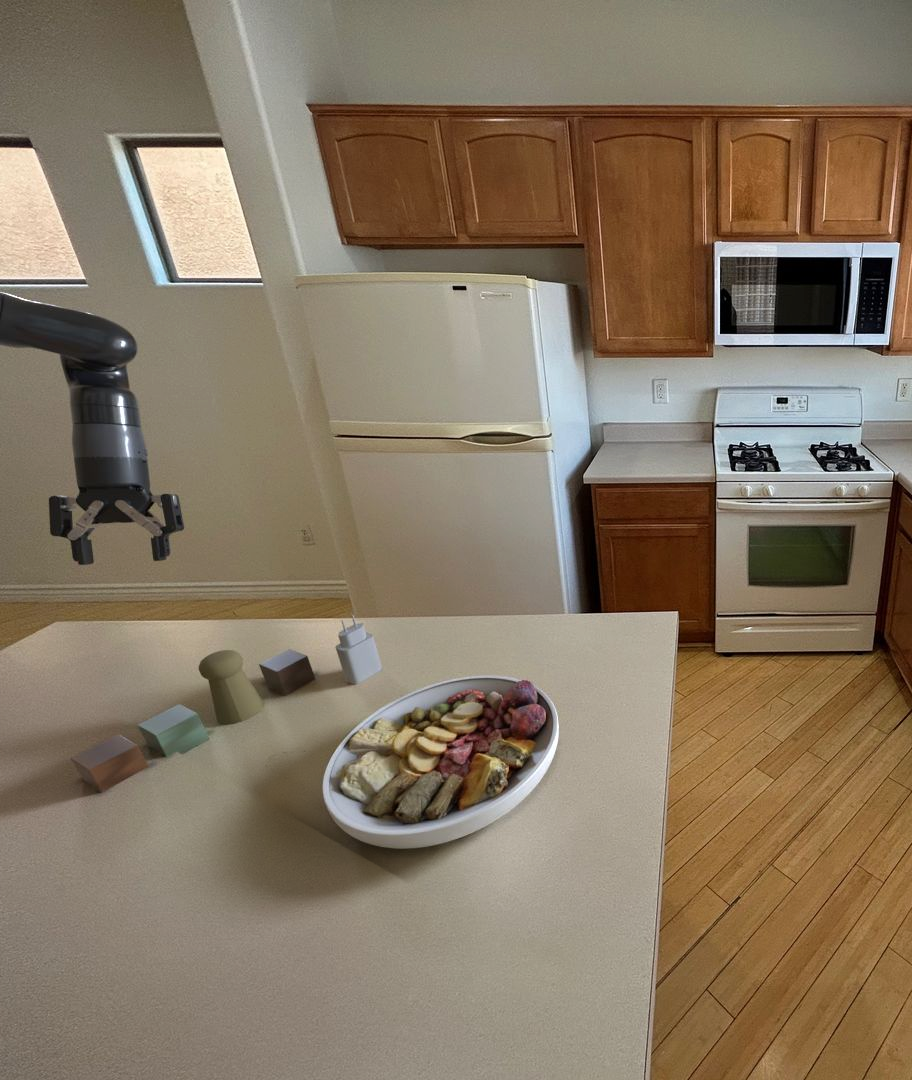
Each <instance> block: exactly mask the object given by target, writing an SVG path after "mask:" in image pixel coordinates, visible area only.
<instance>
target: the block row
mask: <svg viewBox="0 0 912 1080" xmlns="http://www.w3.org/2000/svg"><path fill="white" fill-rule="evenodd" d="M258 666H259V669H260V671H261V674H262V676H263V679H264V682H265V684H266V687H267V689H270V690H272V691H273V692H276V693H279V694H281V695H283V696H288V695H290V694H291V693H294V692H295V691H297V690H299V689H300V688H302V687H304V686H305V685H308V684H309V683H311V682H313V681H314V680H316V677H315V674H314V671H313V667H312V665H311V662H310V660H309V656H308V655H306V654H304V653H302V652H299V651H296V650H293V649H291V648H289V649H287V650H285V651H283V652H281V653H279V654H277V655H274V656H273V657H271V658H269V659H266V660H265V661H262V662H261V663H259V664H258ZM137 727H138V729H139V732H140V733H141V736H142V737H143V739H144V741H145V742H146V745H147V747H149V748H151V749H152V750H154V751H156V752H157V753H159V754H161V755H163V756H164V757H169V756H171V755H172V754H174V753H178V754H180V755H184V754H186V753H187V752H189V751H191V750H192V749H194V748H196V747H198V746H199V745H202V744H203V743H205V742H206V741H208V740H210V737H209V734H208V733H207V730H206V727H204V725H203V722H202V720H201V718H200V716H199V713H198V712H195V711H194V710H191V709H189V708H187V707H185V706H184V705H181V704H180V703H178V704H176V705H175V706H172V707H171V708H168V709H166V710H165V711H163V712H160V713H158V714H156V715H154V716H153V717H150V718H148V719H147V720H144V721H143V722H140V723H138V724H137ZM70 760H71V762H72V764H73V766H74V767H75V769H76V771H77V772H78V774H79V775H80V777H81V779H82V780H83V781H84V782H85V783H86V784H88V785H89V786H90V787H92V788H94V789H96V790H97V791H99V792H100V793H104V792H106V791H108V790H109V789H111V788H113V787H115V786H116V785H119V784H120V783H122V782H125V781H126V780H127V779H130V778H131V777H133V776H135V775H136V774H138V773H140V772H142V771H143V770H145V769H147V768H149V767H150V766H149V764H148V761H146V759H145V757H144V755H143V753H142V751H141V748H139V745H138V744H136V743H135V742H133V741H132V740H129V739H128V738H126V737H125V736H122V735H121V734H117V735H114V736H113V737H110V738H109V739H107V740H104V741H103V742H101V743H98V744H97V745H95V746H92V747H91V748H88V749H86V750H84V751H83V752H80V753H78V754H76V755H74V756H73V757H70Z"/></svg>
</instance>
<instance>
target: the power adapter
mask: <svg viewBox="0 0 912 1080" xmlns="http://www.w3.org/2000/svg"><path fill="white" fill-rule="evenodd" d="M351 618H352V622H353V624H352V625H350V626H348V627H346V624H345V621H344V620H343V619H341V625H342V628H343V629H342V630H340V631H339V632H338V635H337V636H338V641H339V642H340V643H338V644H337V645H335V647H334V648H335V651H336V654H337V656H338V660H339V663H340V666H341V669H342V672H343V676H344V679H345V682H347V683H348V684H351V685H359V684H361V683H362V682H364V681H366V680H368V679H369V678H371V677H372V676H374V675H376V674H377V673H379V672H380V671H382V670H383V667H382V666H383V665H382V662H381V660H380V656H379V653H378V649H377V648H378V647H377V644H376V642H375V638H374V634H371V633H369V632H366V629H365V625H364V623H363V622H360V623H357V621H356V619H355V615H354V614H351Z"/></svg>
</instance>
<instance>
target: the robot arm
mask: <svg viewBox="0 0 912 1080" xmlns="http://www.w3.org/2000/svg"><path fill="white" fill-rule="evenodd" d="M0 346H3V347H7V348H14V349H36V350H41V351H44V352H48V353H54V354H58V355H59V359H60V364H61V368H62V371H63V375H64V379H65V381H66V384H67V387H68V391H69V409H70V416H71V424H72V427H71V429H72V432H71V446H72V447H71V448H72V454H73V463H74V471H75V478H76V479H75V480H76V485H77V488H78V495H77V496H74V497H73V496H68V495H51V496H49V498H48V511H49V515H48V516H49V533H50V535H51V536H53V537H58V538H64V539H67V540H68V541H69V542H70V548H71V554H72V555H71V557H72V560H73V561H74V562H77V564H78V566H87V565H93V564H94V563H95V558H94V552H93V551H94V550H93V543H92V539H89V538H90V537H91V536H92V534H94V532H95V531H96V530H97V529H98V528H101V526H102V525H103V524H104V525H105V524H118V523H121V524H128V523H136V524H137V525H139V526H140V527H142V528H144V529H145V530H146V531H147V532H149V533H150V535H152V536H153V537H150V545H151V554H152V560H153V561H154V562H162V561H166V560H167V557H170V555H171V546H170V536H171V535H172V534H175V533H178V532H182V531H184V530H185V523H184V518H183V513H182V507H181V502H180V497H179V495H178V494H177V493H162V494H156V495H154V494H153V493H152V492H151V480H150V472H149V471H150V470H149V462H148V461H149V460H148V455H149V454H148V450H147V444H146V440H145V437H144V436H145V435H144V433H143V430H142V421H141V413H140V407H139V401H138V399H137V396H136V394H135V393H134V392H133V391H131V388H130V379H129V373H128V365H129V364H130V363H131V362H132V361H134V359H135V358H136V357H137V354H138V350H139V348H138V347H139V346H138V343H137V340H136V338H135V337H134V335H133V334H132V333H131V332H130V331H129V330H128V329H127V328H125V327H124V326H123V325H121V324H119V323H117V322H115V321H113V320H110V319H108V318H105V317H103V316H99V315H96V314H92V313H90V312H85V311H81V310H78V309H73V308H68V307H63V306H59V305H54V304H49V303H44V302H43V303H42V302H37V301H32V300H28V299H24V298H21V297H17V296H15V295H12V294H9V293H6V292H2V291H0ZM154 504H157V506H158V507H159V508H160V509H162V513H163V518H164V523H165V524H164V523H162V522H161V520H160V519H159V518H158V517H157V516H156V515H155V514H154V513H153V512H151V510H150V509H151V508H152V507H153V506H154ZM77 505H78V507H79V508H81V510H83V511H84V513H83V514H82V515H81V516H80V517H79V518H78V520H76V522H75V525H74V524H73V511H75V510H76V508H77Z"/></svg>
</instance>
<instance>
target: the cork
mask: <svg viewBox="0 0 912 1080" xmlns="http://www.w3.org/2000/svg"><path fill="white" fill-rule="evenodd" d="M243 665H244V659H243V657H242V655H241V654H240V653H239V652H238V651H236V650H234V649H222V650H218V651H215V652H212V653H210V654H208V655H207V656H205V657H204V658H202V659H201V660H200V661H199V664H198V671H199V673H200V675H201V677H202V678H204V679H205V680H207V682H208V685H209V690H210V695H211V700H212V704H213V708H214V713H215V717H216V721H217V723H219V724H221V725H232V724H237V723H239V722H240V723H241V722H243V721H246V720H248V719H250V718H252V717H254V716H255V715H256V714H258V713H259V712H261V710H262V709H263V708H264V706H265V703H264V701H263V699H262V698H261V696H260V695H259V693H258V691H257V689H256V688H255V687H254V685H253V683H252V682H251V680H250V679H249V678H248V676H247V675H246V673H245V671H244V670H243Z"/></svg>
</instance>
